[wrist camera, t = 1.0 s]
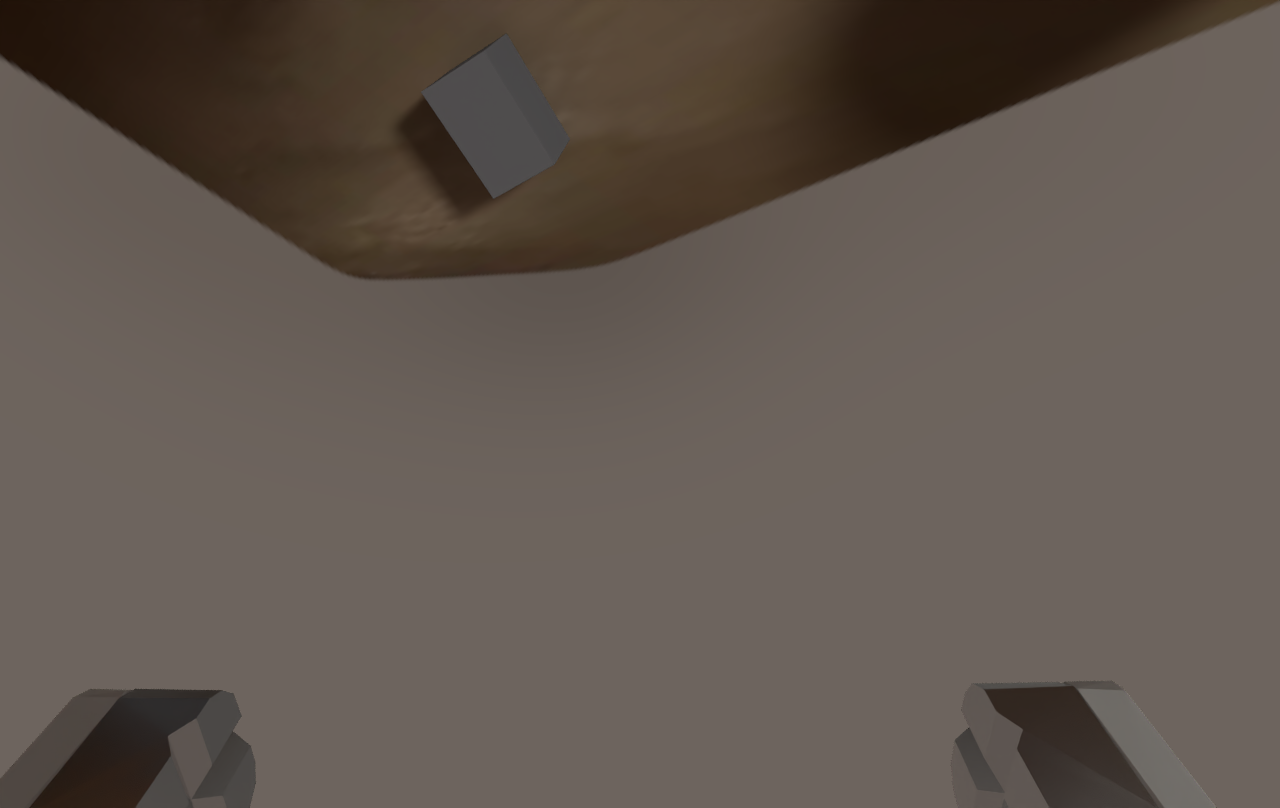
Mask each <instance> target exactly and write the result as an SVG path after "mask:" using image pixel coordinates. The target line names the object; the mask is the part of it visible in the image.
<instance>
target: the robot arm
mask: <svg viewBox="0 0 1280 808" xmlns="http://www.w3.org/2000/svg"><path fill="white" fill-rule="evenodd" d="M961 711H962V713H963V715H964V717H965V719H966V721H967V723H968V725H969V728H968V729H967V730H966V731H964V732H963V733H962V734H961V735H960V736H959V737H958V738H957V739H955V741H954V747H953V754H952V760H951V769H952V782H953V790H954V794H955V798H956V801H957V805H958V808H1217V807H1216V806H1215V805H1214V804H1213V802H1212V801H1211V800H1210V799H1209V797H1208V796H1207V795H1206V794H1205V792H1204V791H1203V790H1202V788H1201V787H1200V786H1199V784H1198V783H1197V782H1196V781H1195V779H1194V778H1193V777H1192V776H1191V774H1190V773H1189V772H1188V770H1187V769H1186V768H1185V766H1184V765H1183V764H1182V763H1181V761H1180V760H1179V759H1178V757H1177V756H1176V755H1175V754H1174V752H1173V751H1172V750H1171V749H1170V747H1169V746H1168V745H1167V743H1166V742H1165V741H1164V739H1163V738H1162V737H1161V736H1160V734H1159V733H1158V732H1157V730H1156V729H1155V728H1154V727H1153V725H1152V724H1151V723H1150V721H1149V720H1148V719H1147V718H1146V716H1145V715H1144V714H1143V713H1142V711H1141V710H1140V709H1139V707H1138V706H1137V705H1136V704H1135V702H1134V701H1133V700H1132V698H1131V697H1130V696H1129V695H1128V694H1127V692H1126V691H1125V690H1124V689H1123V688H1122V687H1121V686H1119V685H1118V684H1116V683H1115V682H1113V681H1076V682H1075V681H1074V682H1064V683H1060V682H1030V683H1029V682H1028V683H975V684H974V683H973V684H971V686H970V687H969V688H968V690H967V691H966V692H965V696H964V700H963V705H962V709H961ZM240 718H241V713H240V710H239V707H238V704H237V702H236V699H235V696H234V694H233V693H229V692H226V691H222V690H168V689H167V690H166V689H134V690H113V689H112V690H111V689H110V690H109V689H90V690H88V691H85V692H83V693H81V694H79V695H77V696H75V697H73V698H72V699H71V701H70V702H69V703H68V704H67V705H66V706H65V707H64V708H63V709H62V711H61V712H60V713H59V714H58V715H57V716H56V717H55V718H54V720H53V721H52V722H51V723H50V724H49V725H48V726H47V727H46V728H45V730H44V731H43V732H42V733H41V734H40V735H39V736H38V737H37V738H36V740H35V741H34V742H33V743H32V744H31V745H30V746H29V747H28V748H27V749H26V751H25V752H24V753H23V754H22V755H21V756H20V757H19V758H18V760H17V761H16V762H15V763H14V764H13V765H12V766H11V767H10V769H9V770H8V771H7V772H6V773H5V774H4V775H3V776H2V778H0V808H250V804H251V800H252V796H253V792H254V788H255V784H256V775H255V760H254V756H253V752H252V749H251V746H250V745H249V744H248V743H247V742H245V741H244V740H243V739H242V738H241V737H239V736H238V735H237V734H236V733H234V732H233V729H234V728H235V726H236V725H237V723H238V721H239V720H240Z"/></svg>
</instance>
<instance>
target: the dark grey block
mask: <svg viewBox="0 0 1280 808" xmlns="http://www.w3.org/2000/svg"><path fill="white" fill-rule="evenodd" d="M421 93H422V94H423V96H424V97H425V99H426V100H427V102H428V103H429V105H430V106H431V108H432V109H433V110H434V112H435V113H436V115H437V116H438V118H439V119H440V121H441V122H442V124H443V125H444V127H445V128H446V130H447V131H448V133H449V134H450V135H451V137H452V138H453V140H454V141H455V143H456V144H457V146H458V147H459V149H460V150H461V152H462V153H463V155H464V156H465V158H466V159H467V161H468V162H469V163H470V165H471V166H472V168H473V169H474V171H475V172H476V174H477V175H478V177H479V178H480V180H481V181H482V183H483V184H484V186H485V187H486V188H487V190H488V191H489V193H490V194H491V196H492V197H493V199H494V198H496V197H498V196H499V195H501V194H503V193H505V192H506V191H508V190H510V189H512V188H514V187H515V186H517V185H519V184H521V183H522V182H524V181H526V180H528V179H530V178H531V177H533V176H535V175H537V174H538V173H540V172H542V171H544V170H545V169H547V168H549V167H551V166H553V165H554V164H555V163H556V161H557V159H558V158H559V156H560V154H561V153H562V151H563V150H564V148H565V146H566V145H567V143H568V141H569V140H570V138H569V137H568V135H567V133H566V132H565V130H564V128H563V127H562V125H561V123H560V122H559V120H558V118H557V117H556V115H555V113H554V112H553V110H552V108H551V107H550V105H549V103H548V102H547V100H546V98H545V97H544V95H543V93H542V92H541V90H540V88H539V87H538V85H537V83H536V82H535V80H534V78H533V77H532V75H531V73H530V72H529V70H528V68H527V67H526V65H525V63H524V62H523V60H522V58H521V57H520V55H519V53H518V52H517V50H516V48H515V47H514V45H513V43H512V42H511V40H510V38H509V37H508V35H507V33H506V34H505V35H503V36H502V37H500V38H499V39H497V40H496V41H494V42H493V43H491V44H490V45H488V46H487V47H485V48H484V49H482V50H480V51H479V52H477V53H476V54H474V55H473V56H471V57H470V58H468V59H467V60H465V61H464V62H462V63H461V64H459V65H458V66H456V67H455V68H453V69H452V70H450V71H449V72H447V73H446V74H445V75H443V76H442V77H441V78H439V79H438V80H437V81H435V82H434V83H433V84H431V85H430V86H429V87H427V88H426V89H424V90H423V91H422V92H421Z"/></svg>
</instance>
